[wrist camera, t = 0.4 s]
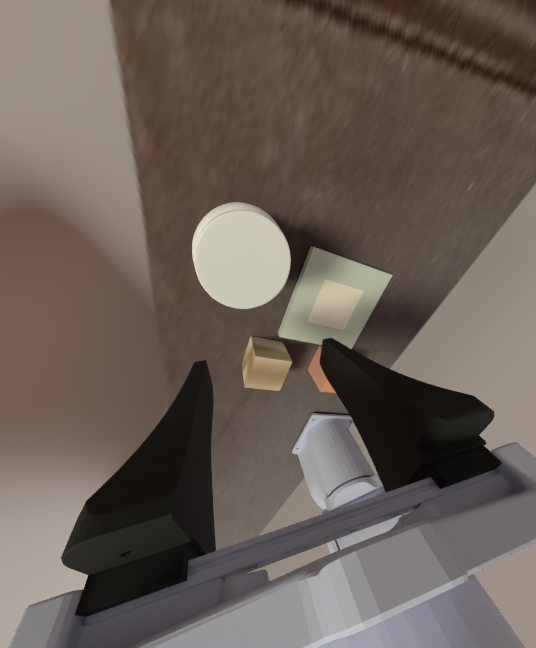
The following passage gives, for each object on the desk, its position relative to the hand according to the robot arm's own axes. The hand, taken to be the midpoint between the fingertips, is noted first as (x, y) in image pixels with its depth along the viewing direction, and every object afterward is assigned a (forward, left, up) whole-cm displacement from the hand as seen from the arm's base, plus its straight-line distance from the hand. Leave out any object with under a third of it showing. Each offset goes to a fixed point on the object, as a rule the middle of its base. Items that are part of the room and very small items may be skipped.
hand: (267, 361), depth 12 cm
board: (+2, -9, -10) cm, 14 cm away
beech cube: (-6, -3, -10) cm, 12 cm away
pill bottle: (+5, +3, -10) cm, 12 cm away
